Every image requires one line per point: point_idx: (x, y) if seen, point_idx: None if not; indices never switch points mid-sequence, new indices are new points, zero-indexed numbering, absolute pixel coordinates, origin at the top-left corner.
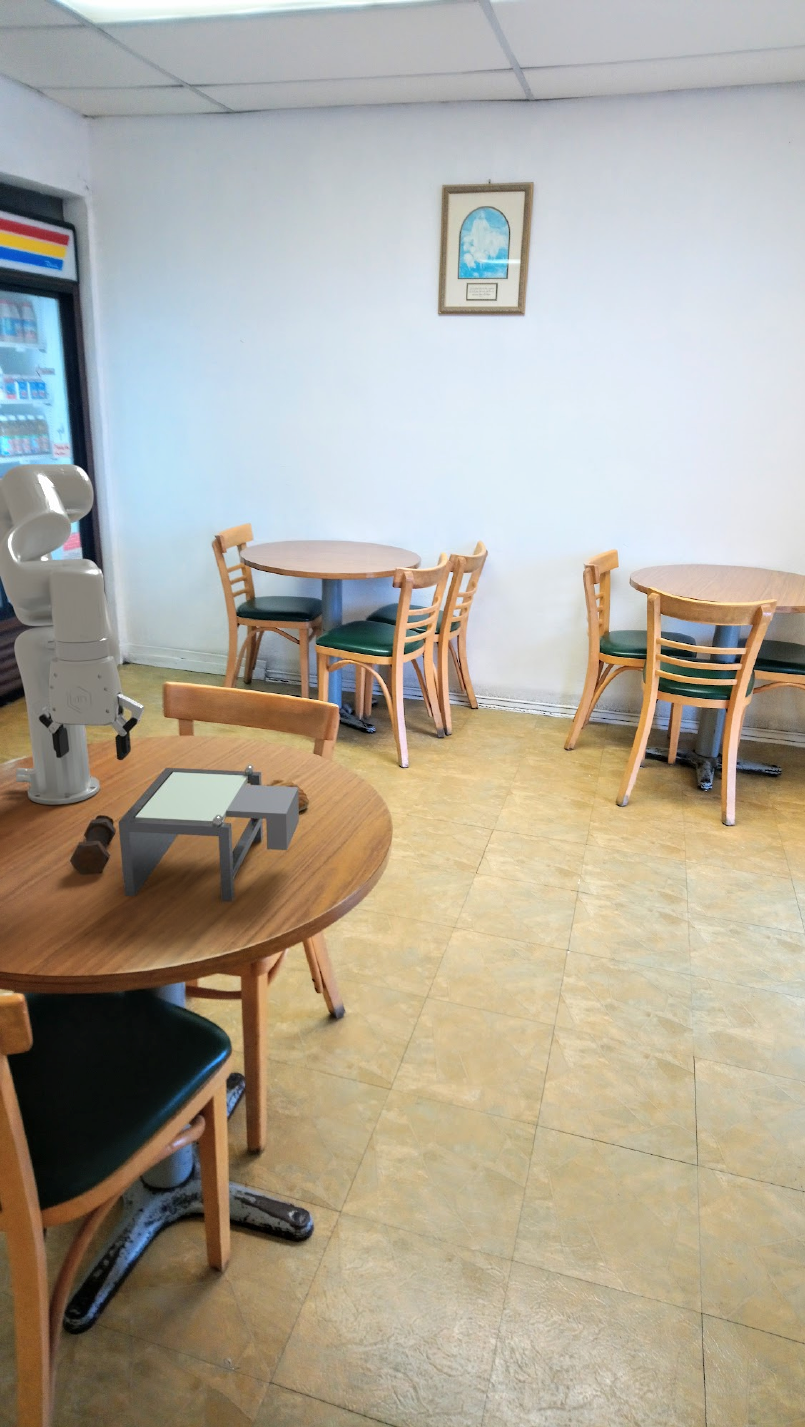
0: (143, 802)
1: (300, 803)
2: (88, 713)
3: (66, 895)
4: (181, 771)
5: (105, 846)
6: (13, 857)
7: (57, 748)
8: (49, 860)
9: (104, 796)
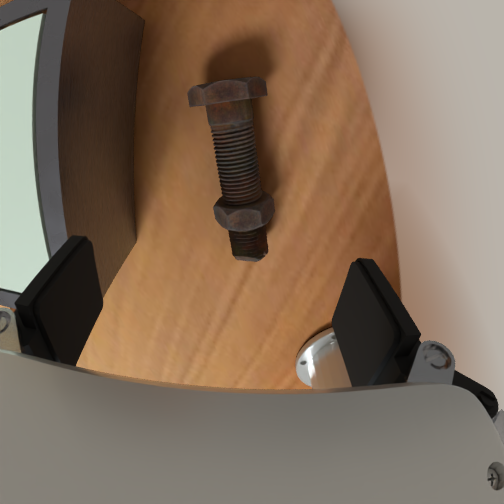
0: (40, 101)
1: (11, 308)
2: (83, 494)
3: (247, 13)
4: None
5: (216, 155)
6: (380, 152)
7: (379, 281)
8: (319, 136)
9: (283, 350)
